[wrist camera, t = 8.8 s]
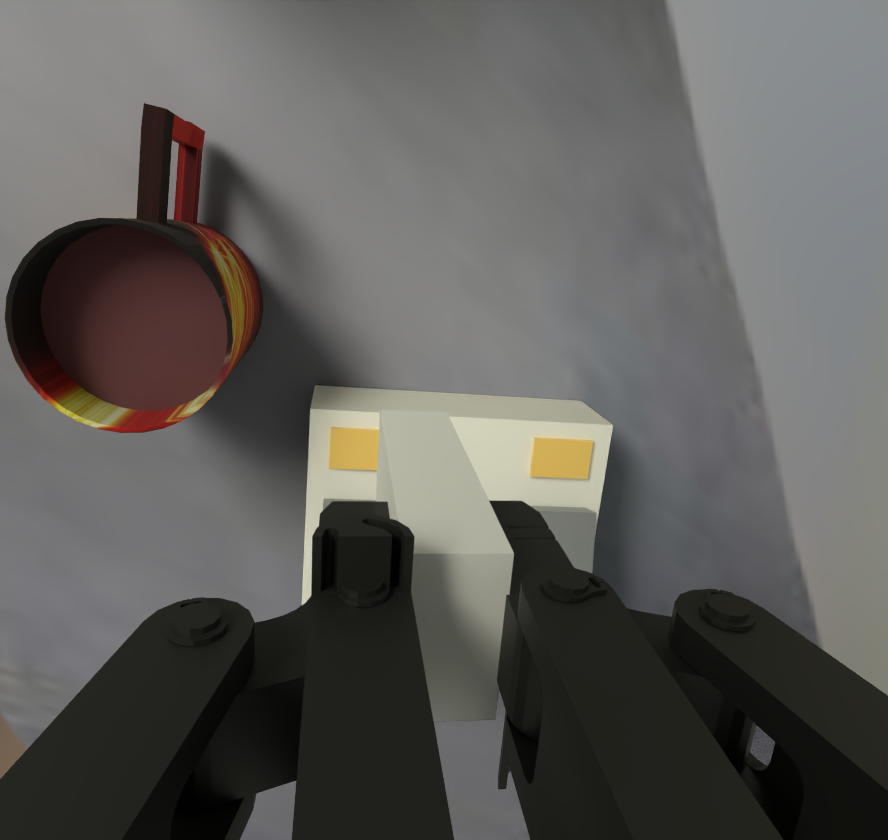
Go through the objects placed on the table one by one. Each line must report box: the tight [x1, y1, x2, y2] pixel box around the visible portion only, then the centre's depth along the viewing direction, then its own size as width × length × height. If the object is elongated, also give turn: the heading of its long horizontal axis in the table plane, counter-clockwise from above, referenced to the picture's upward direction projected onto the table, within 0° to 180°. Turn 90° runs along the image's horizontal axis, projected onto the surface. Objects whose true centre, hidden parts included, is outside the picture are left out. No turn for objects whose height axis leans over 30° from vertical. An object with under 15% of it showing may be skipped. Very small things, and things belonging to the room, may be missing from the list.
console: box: [302, 385, 613, 605], centre depth 45 cm, size 18×18×7 cm
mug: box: [5, 103, 263, 433], centre depth 36 cm, size 10×14×12 cm
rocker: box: [531, 506, 596, 573], centre depth 42 cm, size 8×4×2 cm, turn 175°
